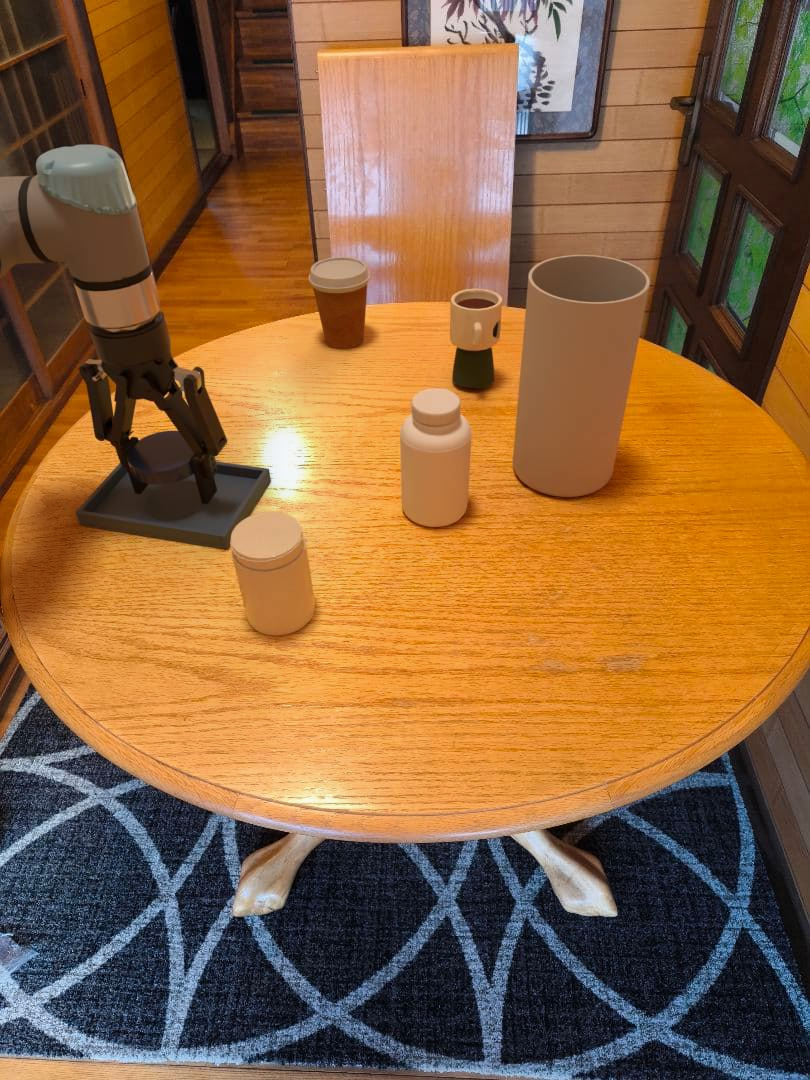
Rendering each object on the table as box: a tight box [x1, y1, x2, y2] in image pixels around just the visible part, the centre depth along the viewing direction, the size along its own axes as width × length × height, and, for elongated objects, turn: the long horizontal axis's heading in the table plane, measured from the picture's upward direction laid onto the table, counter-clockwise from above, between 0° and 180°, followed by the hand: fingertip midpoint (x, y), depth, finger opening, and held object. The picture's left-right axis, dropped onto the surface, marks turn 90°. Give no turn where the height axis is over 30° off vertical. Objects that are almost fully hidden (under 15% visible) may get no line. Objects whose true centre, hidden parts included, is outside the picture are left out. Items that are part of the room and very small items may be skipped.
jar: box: [230, 511, 316, 636], centre depth 76 cm, size 7×7×11 cm
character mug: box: [449, 288, 503, 389], centre depth 109 cm, size 11×7×13 cm, turn 0°
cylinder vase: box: [512, 254, 651, 498], centre depth 89 cm, size 12×12×25 cm
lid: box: [127, 430, 194, 485], centre depth 89 cm, size 8×8×2 cm
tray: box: [74, 460, 272, 550], centre depth 93 cm, size 19×13×2 cm
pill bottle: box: [399, 387, 472, 528], centre depth 87 cm, size 8×8×15 cm
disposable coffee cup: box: [307, 256, 371, 350], centre depth 121 cm, size 10×10×12 cm
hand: (176, 491), depth 93 cm, fingers closed on lid, 8 cm apart
